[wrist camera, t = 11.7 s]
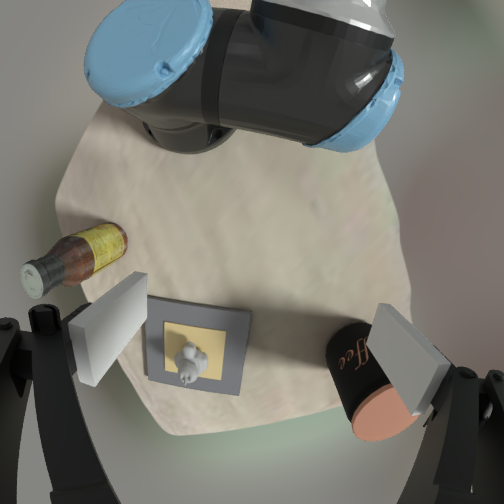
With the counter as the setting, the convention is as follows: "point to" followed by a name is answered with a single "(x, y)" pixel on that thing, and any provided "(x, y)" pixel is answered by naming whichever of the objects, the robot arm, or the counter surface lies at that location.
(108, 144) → the counter surface
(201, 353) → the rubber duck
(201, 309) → the board
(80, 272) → the sauce bottle
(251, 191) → the counter surface
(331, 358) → the coffee jar
